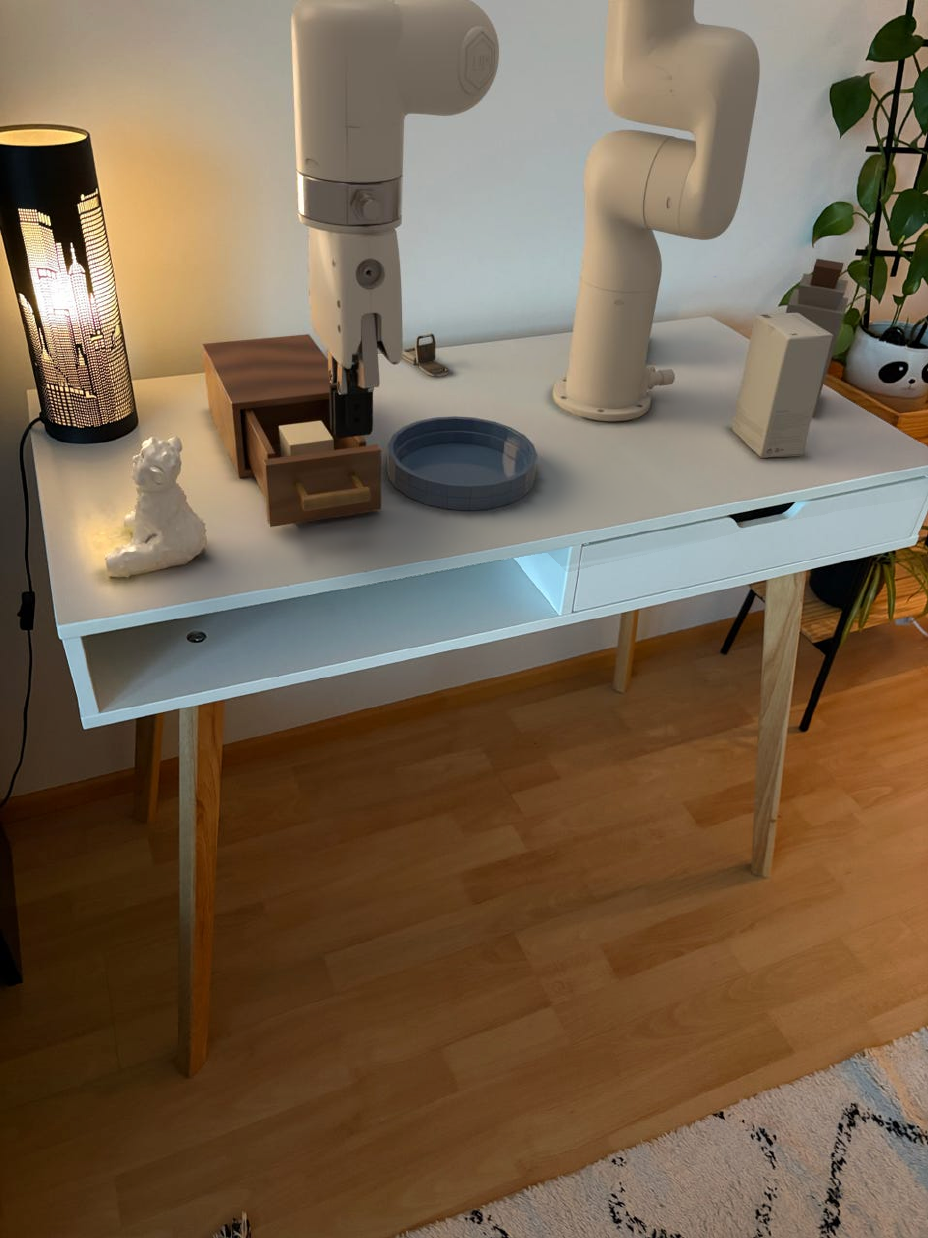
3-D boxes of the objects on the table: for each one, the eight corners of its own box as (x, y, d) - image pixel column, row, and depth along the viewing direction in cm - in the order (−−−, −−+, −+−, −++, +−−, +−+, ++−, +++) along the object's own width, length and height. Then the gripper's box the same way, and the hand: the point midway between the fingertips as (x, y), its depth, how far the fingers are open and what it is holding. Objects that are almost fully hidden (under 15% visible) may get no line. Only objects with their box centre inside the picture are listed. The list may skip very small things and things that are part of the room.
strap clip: (398, 356, 132) (398, 325, 129) (416, 352, 133) (417, 322, 131) (432, 378, 126) (433, 347, 124) (451, 373, 128) (452, 343, 125)
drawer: (395, 531, 94) (396, 469, 90) (281, 550, 90) (276, 487, 86) (337, 442, 108) (336, 385, 104) (237, 455, 104) (231, 397, 100)
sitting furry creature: (130, 524, 94) (110, 411, 87) (218, 528, 94) (206, 416, 87) (102, 579, 86) (78, 461, 79) (199, 583, 87) (183, 465, 79)
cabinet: (351, 462, 107) (350, 389, 101) (238, 477, 102) (231, 403, 97) (311, 401, 119) (309, 333, 113) (209, 412, 114) (201, 343, 109)
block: (322, 463, 102) (321, 420, 99) (335, 483, 99) (333, 439, 96) (281, 468, 100) (278, 425, 97) (292, 489, 97) (289, 445, 94)
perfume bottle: (761, 406, 125) (797, 266, 114) (768, 387, 130) (803, 252, 119) (813, 417, 123) (855, 276, 113) (818, 397, 129) (859, 261, 118)
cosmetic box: (802, 457, 114) (839, 336, 105) (757, 459, 113) (790, 337, 104) (770, 425, 121) (801, 309, 112) (726, 428, 119) (755, 310, 110)
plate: (497, 433, 114) (499, 409, 112) (559, 500, 103) (562, 473, 101) (368, 451, 109) (368, 425, 107) (417, 523, 97) (418, 496, 95)
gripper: (436, 224, 64) (425, 467, 75) (367, 173, 75) (366, 392, 86) (328, 229, 62) (333, 480, 73) (273, 175, 73) (285, 400, 84)
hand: (351, 431), depth 79 cm, fingers closed
